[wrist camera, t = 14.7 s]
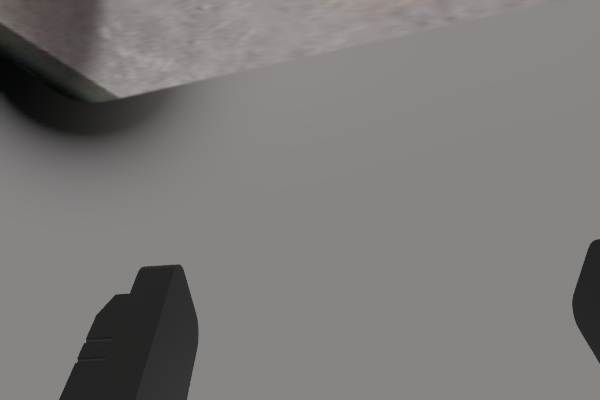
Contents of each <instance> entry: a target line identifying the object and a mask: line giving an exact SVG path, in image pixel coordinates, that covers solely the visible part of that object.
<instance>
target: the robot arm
mask: <svg viewBox="0 0 600 400" xmlns="http://www.w3.org/2000/svg"><path fill="white" fill-rule="evenodd" d="M572 306H573V314H574V318H575V321H576V324H577V326H578V328H579V329H580V331H581V333H582V335H583V336H584V338H585V340H586V341H587V343H588V345H589V346H590V348H591V349H592V351H593V353H594V355H595V356H596V358H597V360H598V361H599V363H600V239H598V240H595V241H593V242H592V243H591V244H590V246H589V249H588V252H587V254H586V258H585V261H584V264H583V267H582V270H581V273H580V276H579V279H578V282H577V285H576V288H575V292H574V295H573V301H572ZM197 346H198V321H197V316H196V312H195V308H194V305H193V301H192V298H191V294H190V291H189V287H188V284H187V280H186V277H185V273H184V270H183V268H182V266H181V265H163V266H147V267H142V268H141V269H140V270H139V272H138V274H137V277H136V279H135V282H134V284H133V287H132V290H131V292H130V294H118V295H115V296H114V297H113V298H112V299H111V300H110V301H109V302H108V304H106V306H105V307H104V308H103V309H102V310H101V311H100V312H99V313H98V314H97V315H96V317H95V320H94V322H93V324H92V327H91V329H90V331H89V333H88V336H87V338H86V343H84V345H83V347H82V349H81V351H80V354H79V356H78V362H77V363H75V365H74V367H73V370H72V372H71V374H70V376H69V379H68V381H67V383H66V385H65V388H64V390H63V392H62V395H61V397H60V399H59V400H187V395H188V391H189V386H190V381H191V376H192V371H193V366H194V361H195V356H196V351H197Z"/></svg>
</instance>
